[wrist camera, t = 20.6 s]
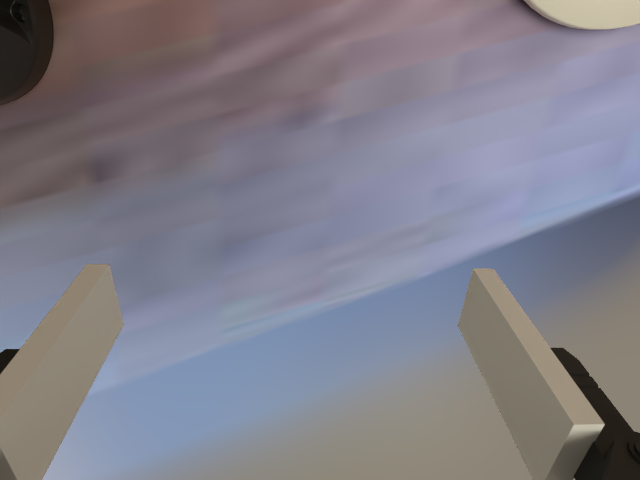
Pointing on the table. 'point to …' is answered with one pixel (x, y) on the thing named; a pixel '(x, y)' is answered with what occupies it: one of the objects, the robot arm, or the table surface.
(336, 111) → the table surface
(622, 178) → the table surface
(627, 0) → the turntable
